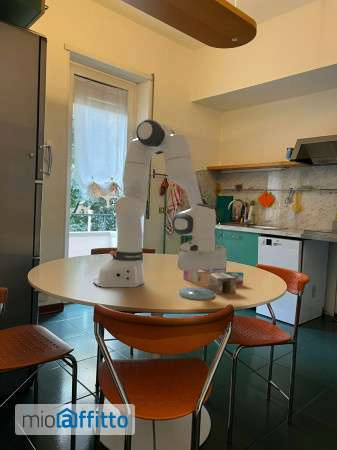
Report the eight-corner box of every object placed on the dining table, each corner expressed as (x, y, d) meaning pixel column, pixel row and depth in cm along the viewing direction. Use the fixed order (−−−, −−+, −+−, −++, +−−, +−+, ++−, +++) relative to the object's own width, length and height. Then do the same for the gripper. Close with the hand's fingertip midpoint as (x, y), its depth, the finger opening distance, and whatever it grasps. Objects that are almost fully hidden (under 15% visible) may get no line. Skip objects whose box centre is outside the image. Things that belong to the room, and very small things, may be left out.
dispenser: (217, 295, 128) (218, 278, 128) (204, 288, 138) (205, 272, 138) (236, 293, 132) (237, 277, 131) (222, 286, 142) (223, 272, 142)
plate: (188, 301, 118) (188, 298, 118) (173, 291, 131) (173, 288, 131) (220, 298, 123) (221, 295, 123) (203, 289, 136) (203, 286, 136)
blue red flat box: (241, 285, 148) (242, 271, 147) (242, 285, 146) (243, 272, 146) (216, 284, 146) (217, 271, 146) (217, 285, 145) (218, 272, 144)
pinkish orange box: (201, 286, 121) (202, 273, 121) (187, 279, 132) (188, 267, 132) (208, 285, 122) (209, 273, 122) (194, 279, 133) (194, 267, 133)
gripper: (221, 244, 130) (220, 277, 131) (176, 245, 122) (175, 280, 123) (230, 246, 124) (229, 280, 125) (183, 247, 116) (182, 284, 117)
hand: (202, 280), depth 124 cm, fingers closed on pinkish orange box, 3 cm apart
